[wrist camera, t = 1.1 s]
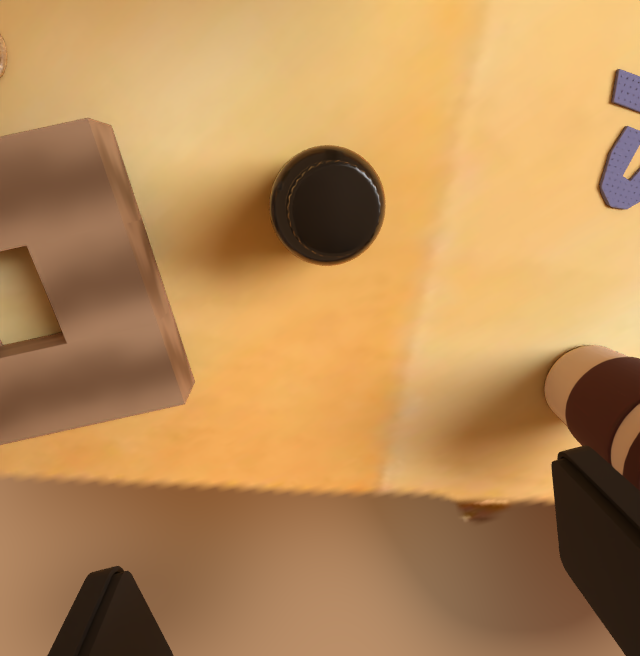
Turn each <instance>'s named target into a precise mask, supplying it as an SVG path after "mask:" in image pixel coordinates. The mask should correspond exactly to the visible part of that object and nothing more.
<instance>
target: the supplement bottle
mask: <svg viewBox="0 0 640 656" xmlns="http://www.w3.org/2000/svg"><path fill="white" fill-rule="evenodd" d="M269 211H270V218H271V222H272V225H273V228H274V230H275V233H276V235H277V236H278V238H279V240H280V241H281V242H282V244H283V245H284V246H285V247H286V248H287V249H288V250H289V251H290V252H291V253H292V254H293V255H295V256H296V257H298V258H300V259H301V260H304V261H306V262H308V263H312V264H316V265H322V266H331V265H338V264H342V263H346V262H348V261H351V260H353V259H355V258H356V257H358V256H359V255H361V254H362V253H363V252H365V251H366V250H367V249H368V248H369V247H370V245H371V244H372V243H373V242H374V240H375V239H376V237H377V235H378V234H379V231H380V229H381V227H382V224H383V220H384V215H385V195H384V190H383V187H382V183H381V181H380V179H379V177H378V175H377V173H376V172H375V170H374V169H373V167H372V166H371V165H370V164H369V163H368V162H367V161H366V160H365V159H364V158H363V157H361V156H360V155H358V154H357V153H355V152H353V151H351V150H349V149H346V148H343V147H339V146H332V145H324V146H317V147H313V148H309V149H307V150H304V151H302V152H300V153H298V154H297V155H295V156H294V157H293V158H291V159H290V160H289V161H288V162H287V163H286V164H285V165H284V166H283V168H282V169H281V170H280V172H279V173H278V175H277V177H276V179H275V181H274V183H273V186H272V190H271V194H270V201H269Z"/></svg>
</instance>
